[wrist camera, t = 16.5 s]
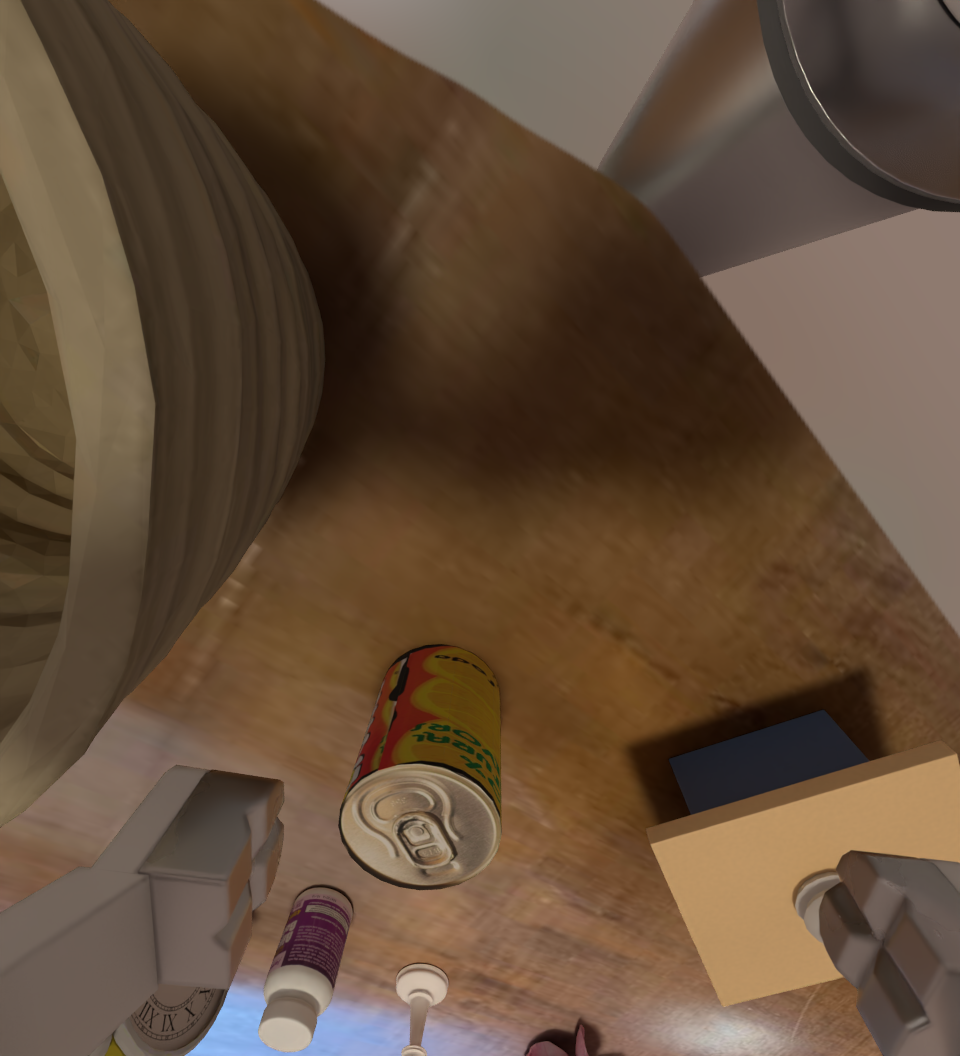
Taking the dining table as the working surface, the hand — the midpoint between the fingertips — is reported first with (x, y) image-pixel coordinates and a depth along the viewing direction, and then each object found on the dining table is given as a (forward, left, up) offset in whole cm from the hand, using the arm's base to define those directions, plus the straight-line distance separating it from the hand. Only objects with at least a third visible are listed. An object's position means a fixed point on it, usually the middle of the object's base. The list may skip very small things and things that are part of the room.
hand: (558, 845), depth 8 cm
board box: (-8, +32, -29) cm, 44 cm away
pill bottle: (+31, +31, -29) cm, 53 cm away
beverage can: (+12, +15, -29) cm, 35 cm away
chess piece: (+27, +43, -29) cm, 59 cm away
